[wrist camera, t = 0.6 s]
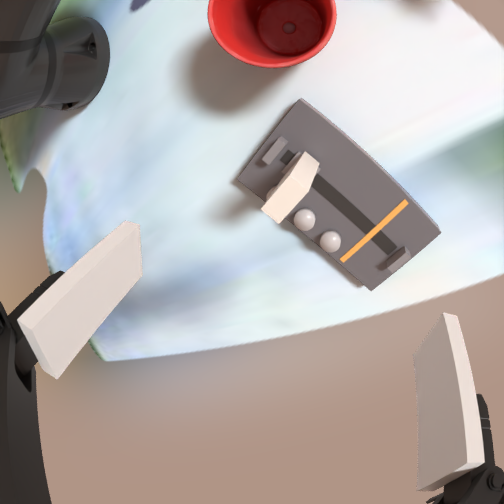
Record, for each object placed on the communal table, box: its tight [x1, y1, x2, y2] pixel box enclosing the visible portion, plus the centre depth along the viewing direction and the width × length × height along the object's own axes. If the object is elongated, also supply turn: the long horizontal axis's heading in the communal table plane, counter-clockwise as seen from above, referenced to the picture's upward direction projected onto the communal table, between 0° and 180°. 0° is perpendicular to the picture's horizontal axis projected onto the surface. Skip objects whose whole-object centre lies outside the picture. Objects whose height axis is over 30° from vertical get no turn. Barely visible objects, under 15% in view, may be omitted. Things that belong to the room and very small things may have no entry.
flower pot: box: [208, 0, 337, 68], centre depth 24 cm, size 11×11×10 cm
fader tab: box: [261, 151, 321, 224], centre depth 30 cm, size 3×4×10 cm
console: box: [237, 98, 441, 291], centre depth 35 cm, size 22×12×4 cm, turn 54°
